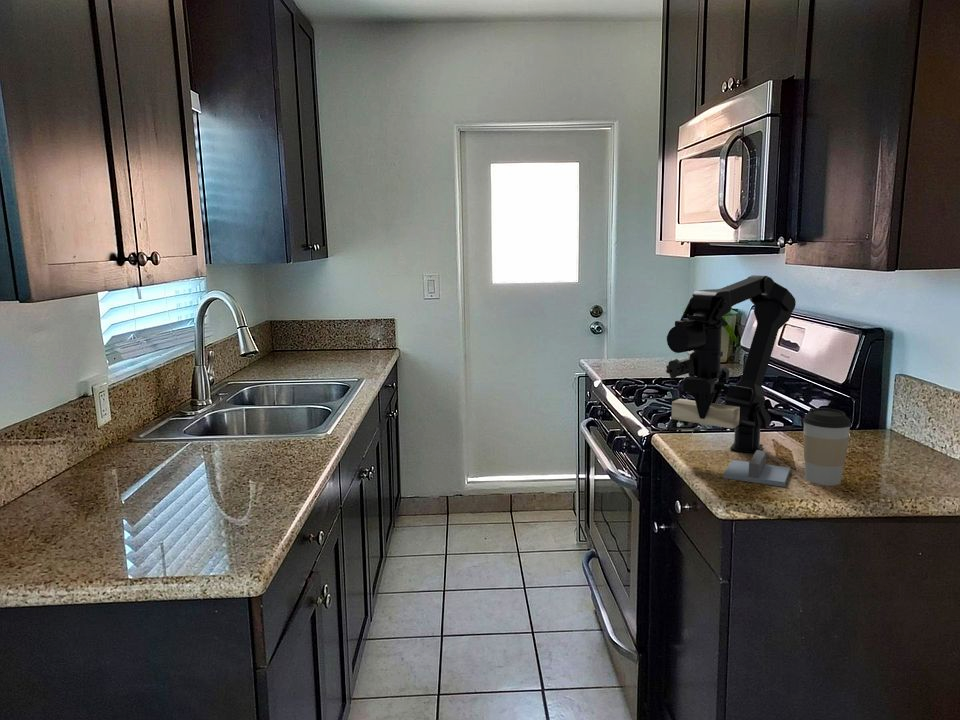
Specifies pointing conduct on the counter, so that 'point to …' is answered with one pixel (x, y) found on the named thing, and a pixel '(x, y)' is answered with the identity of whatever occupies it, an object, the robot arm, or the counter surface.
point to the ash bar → (715, 415)
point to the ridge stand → (757, 471)
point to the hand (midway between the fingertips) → (704, 416)
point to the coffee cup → (825, 445)
